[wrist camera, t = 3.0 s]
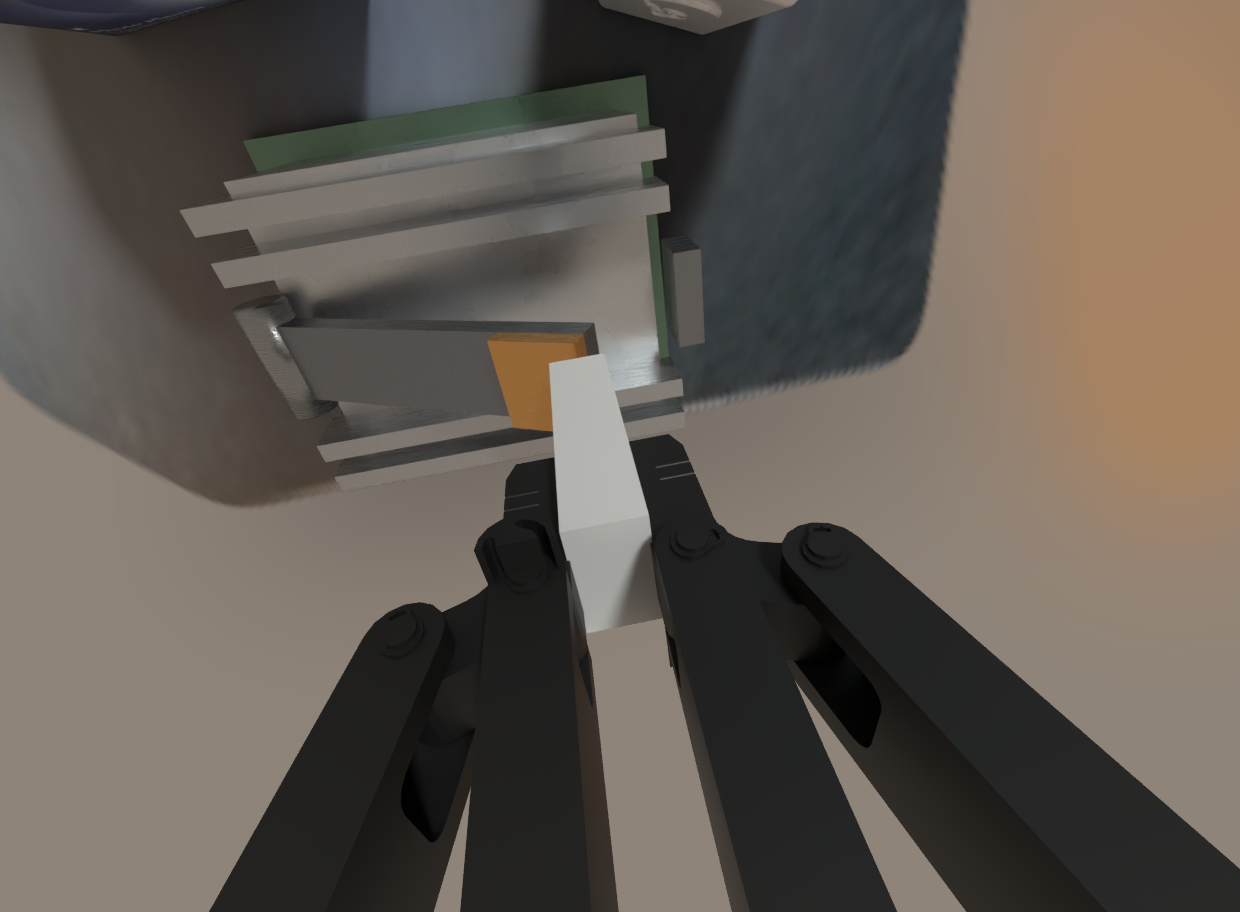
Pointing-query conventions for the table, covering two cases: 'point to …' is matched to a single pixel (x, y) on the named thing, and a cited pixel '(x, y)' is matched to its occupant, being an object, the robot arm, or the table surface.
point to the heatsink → (474, 252)
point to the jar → (698, 11)
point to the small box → (101, 13)
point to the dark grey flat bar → (413, 361)
